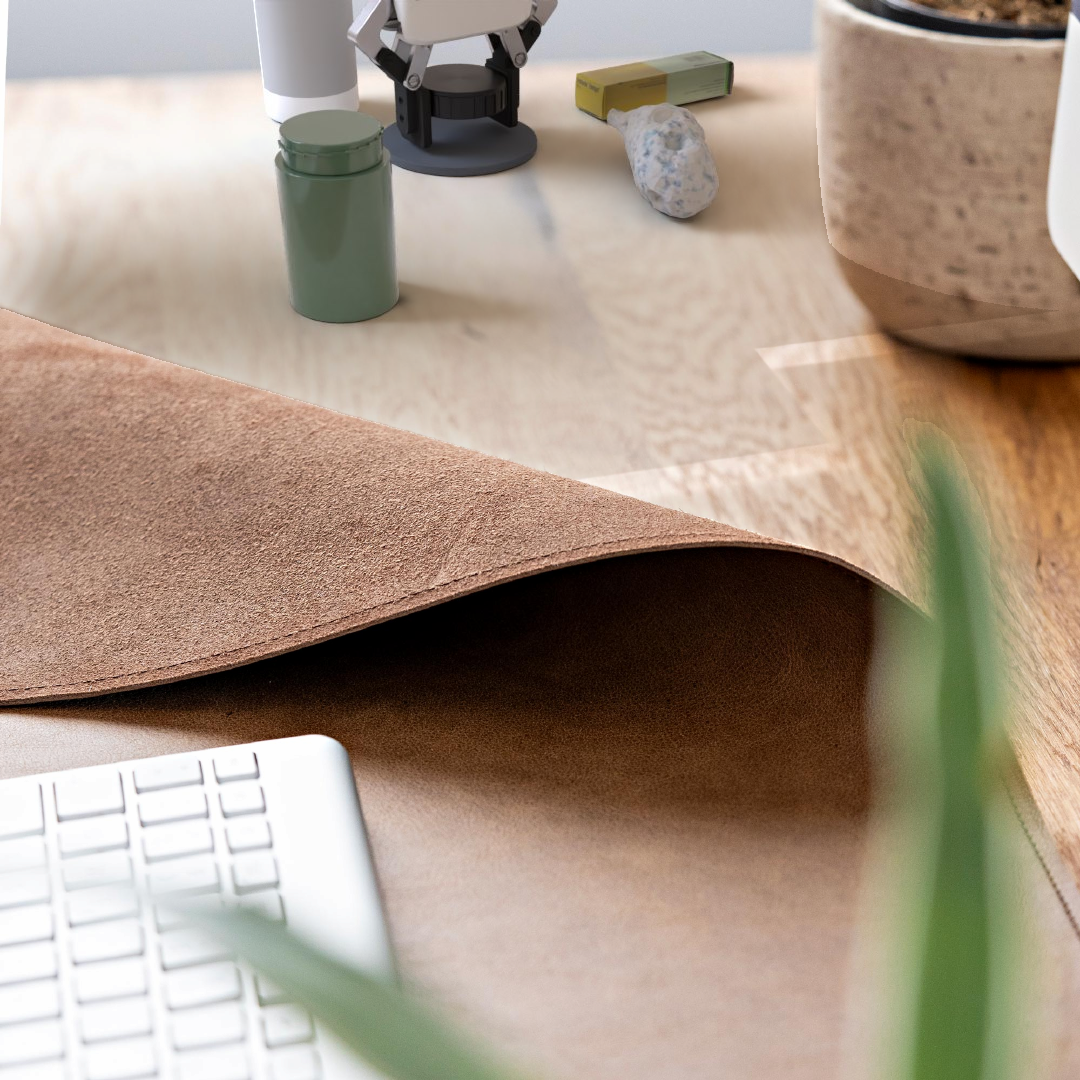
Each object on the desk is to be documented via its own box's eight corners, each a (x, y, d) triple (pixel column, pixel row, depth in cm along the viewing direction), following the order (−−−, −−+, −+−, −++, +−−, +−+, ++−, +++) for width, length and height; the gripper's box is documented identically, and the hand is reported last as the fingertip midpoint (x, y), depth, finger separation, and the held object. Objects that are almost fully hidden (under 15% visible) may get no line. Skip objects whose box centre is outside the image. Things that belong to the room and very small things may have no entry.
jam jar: (296, 328, 68) (277, 152, 63) (284, 279, 73) (265, 111, 67) (408, 316, 70) (398, 142, 64) (389, 268, 74) (378, 102, 68)
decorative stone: (750, 223, 80) (759, 143, 77) (646, 230, 79) (651, 149, 76) (688, 146, 90) (695, 73, 87) (596, 152, 89) (599, 78, 86)
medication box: (732, 97, 99) (701, 82, 101) (736, 61, 97) (704, 47, 100) (601, 123, 94) (572, 106, 96) (603, 85, 92) (573, 70, 95)
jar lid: (494, 86, 91) (494, 60, 90) (516, 116, 86) (517, 89, 85) (403, 92, 90) (402, 65, 89) (421, 123, 85) (420, 95, 84)
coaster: (394, 182, 84) (393, 173, 84) (367, 125, 93) (367, 116, 92) (555, 168, 87) (555, 159, 86) (515, 113, 95) (515, 105, 95)
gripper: (532, -180, 85) (531, 93, 96) (295, -155, 77) (322, 140, 88) (601, -163, 80) (591, 123, 91) (355, -134, 72) (377, 176, 83)
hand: (459, 129), depth 89 cm, fingers closed on jar lid, 6 cm apart
